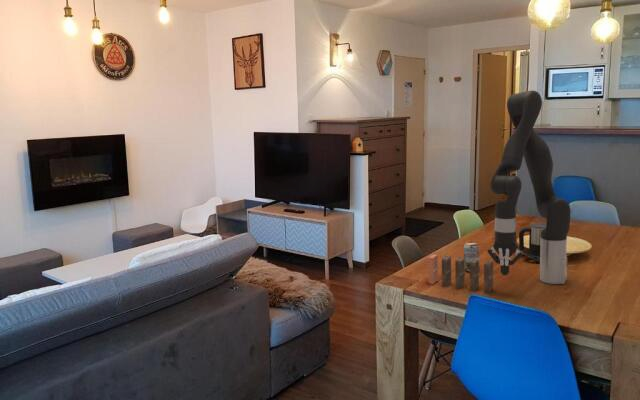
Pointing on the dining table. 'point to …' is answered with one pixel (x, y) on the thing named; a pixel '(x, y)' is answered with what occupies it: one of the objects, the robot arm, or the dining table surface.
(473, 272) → the tile
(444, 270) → the tile
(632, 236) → the dining table surface
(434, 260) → the end tile
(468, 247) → the beverage can
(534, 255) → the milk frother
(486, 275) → the tile
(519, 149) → the robot arm
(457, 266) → the tile
